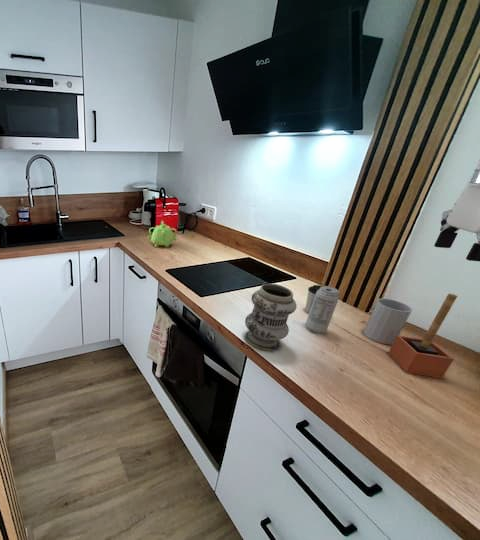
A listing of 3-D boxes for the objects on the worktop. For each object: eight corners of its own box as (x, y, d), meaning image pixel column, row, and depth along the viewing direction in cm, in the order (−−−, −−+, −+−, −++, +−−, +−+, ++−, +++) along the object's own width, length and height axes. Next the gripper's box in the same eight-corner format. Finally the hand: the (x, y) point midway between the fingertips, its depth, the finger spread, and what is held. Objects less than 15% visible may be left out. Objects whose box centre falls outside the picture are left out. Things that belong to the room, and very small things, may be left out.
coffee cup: (315, 318, 102) (324, 294, 98) (297, 309, 107) (304, 285, 103) (327, 314, 104) (336, 290, 100) (309, 305, 110) (316, 282, 106)
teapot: (143, 242, 177) (144, 222, 172) (160, 239, 185) (162, 220, 179) (160, 250, 165) (162, 228, 160) (178, 246, 172) (180, 225, 167)
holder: (420, 358, 83) (430, 340, 81) (442, 378, 76) (454, 359, 74) (387, 353, 85) (397, 335, 83) (406, 372, 78) (416, 353, 75)
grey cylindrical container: (385, 331, 95) (401, 300, 91) (401, 346, 88) (418, 313, 83) (358, 327, 97) (372, 296, 92) (371, 342, 90) (386, 309, 85)
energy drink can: (329, 330, 95) (344, 290, 89) (320, 336, 92) (335, 295, 86) (310, 321, 100) (323, 283, 94) (301, 326, 97) (314, 287, 91)
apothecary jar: (264, 357, 82) (280, 303, 74) (233, 334, 91) (244, 284, 84) (292, 347, 86) (310, 294, 79) (259, 325, 96) (272, 277, 89)
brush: (417, 360, 82) (455, 292, 73) (427, 369, 78) (469, 300, 69) (401, 357, 83) (437, 290, 74) (410, 367, 79) (449, 297, 70)
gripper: (564, 185, 53) (512, 268, 60) (482, 177, 69) (448, 244, 76) (513, 183, 55) (468, 264, 62) (444, 175, 70) (414, 241, 77)
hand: (457, 253), depth 69 cm, fingers open, 9 cm apart
